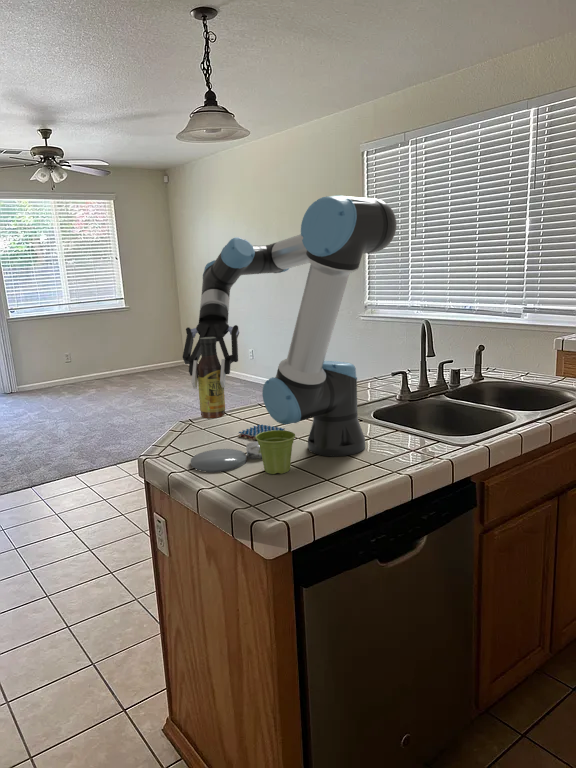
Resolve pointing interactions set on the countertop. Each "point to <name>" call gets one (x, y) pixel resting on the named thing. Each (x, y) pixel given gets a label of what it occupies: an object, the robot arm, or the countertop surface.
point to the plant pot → (276, 450)
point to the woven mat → (257, 431)
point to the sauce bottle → (210, 381)
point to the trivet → (218, 460)
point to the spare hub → (253, 450)
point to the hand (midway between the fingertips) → (208, 384)
